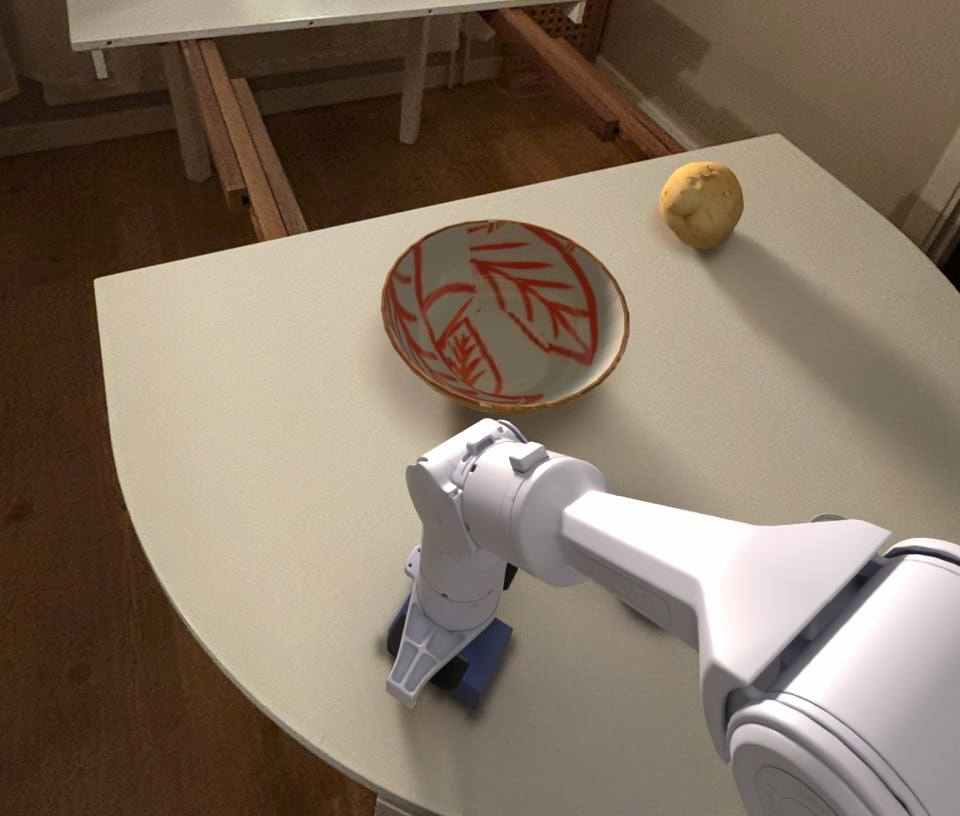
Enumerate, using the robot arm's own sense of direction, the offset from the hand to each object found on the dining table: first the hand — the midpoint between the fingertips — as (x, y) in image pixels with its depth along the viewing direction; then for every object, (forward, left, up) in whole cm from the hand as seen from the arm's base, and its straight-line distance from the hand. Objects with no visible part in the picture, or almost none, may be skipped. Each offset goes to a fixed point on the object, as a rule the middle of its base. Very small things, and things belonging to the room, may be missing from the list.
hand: (449, 638), depth 58 cm
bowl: (+26, -12, -2) cm, 29 cm away
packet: (0, 0, -2) cm, 2 cm away
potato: (+40, -43, -2) cm, 59 cm away
